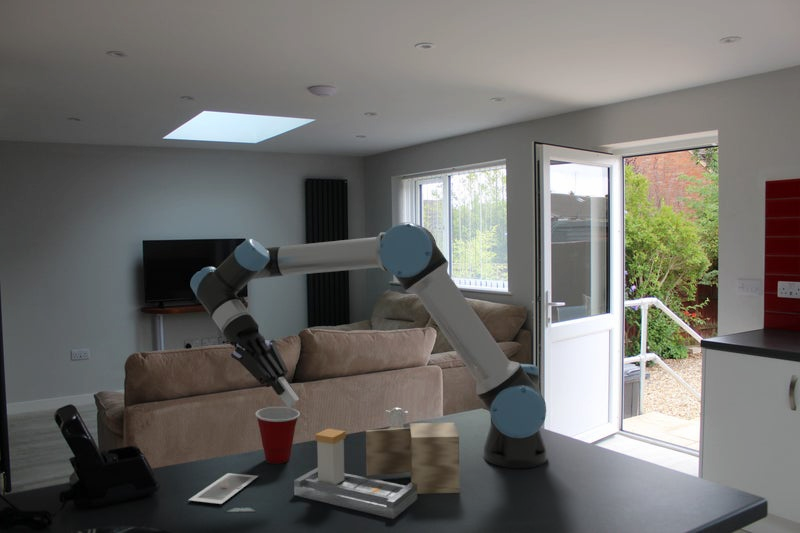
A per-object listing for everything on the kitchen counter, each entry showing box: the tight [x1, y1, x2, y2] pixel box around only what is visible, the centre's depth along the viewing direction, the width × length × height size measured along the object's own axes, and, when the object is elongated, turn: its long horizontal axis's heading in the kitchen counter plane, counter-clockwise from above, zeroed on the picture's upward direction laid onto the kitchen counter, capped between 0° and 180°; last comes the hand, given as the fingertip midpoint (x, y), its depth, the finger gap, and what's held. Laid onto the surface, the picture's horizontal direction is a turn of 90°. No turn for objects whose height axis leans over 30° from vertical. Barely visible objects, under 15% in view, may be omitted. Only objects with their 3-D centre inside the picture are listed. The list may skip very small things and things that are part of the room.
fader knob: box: [314, 428, 347, 484], centre depth 127 cm, size 5×5×10 cm
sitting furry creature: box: [384, 406, 408, 429], centre depth 149 cm, size 10×9×12 cm
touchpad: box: [188, 472, 259, 505], centre depth 129 cm, size 8×15×2 cm, turn 164°
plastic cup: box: [254, 406, 301, 465], centre depth 147 cm, size 11×11×12 cm
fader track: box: [293, 466, 418, 520], centre depth 125 cm, size 24×10×3 cm, turn 61°
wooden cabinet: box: [365, 422, 461, 495], centre depth 131 cm, size 20×10×12 cm, turn 91°
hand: (293, 403), depth 131 cm, fingers closed
